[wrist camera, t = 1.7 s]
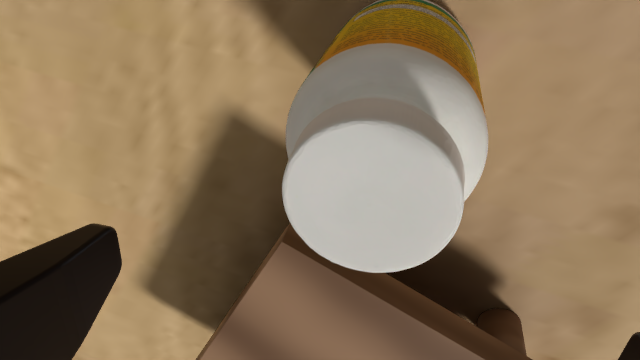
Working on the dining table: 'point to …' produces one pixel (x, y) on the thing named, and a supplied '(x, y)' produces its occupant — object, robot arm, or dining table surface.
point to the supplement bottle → (386, 139)
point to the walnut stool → (349, 317)
